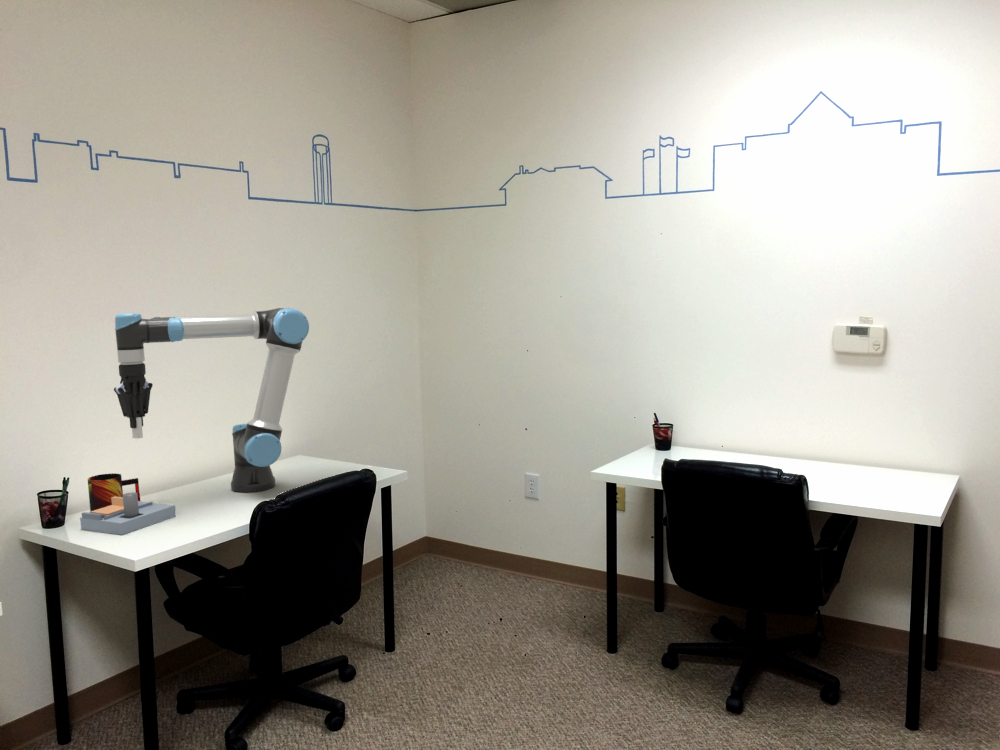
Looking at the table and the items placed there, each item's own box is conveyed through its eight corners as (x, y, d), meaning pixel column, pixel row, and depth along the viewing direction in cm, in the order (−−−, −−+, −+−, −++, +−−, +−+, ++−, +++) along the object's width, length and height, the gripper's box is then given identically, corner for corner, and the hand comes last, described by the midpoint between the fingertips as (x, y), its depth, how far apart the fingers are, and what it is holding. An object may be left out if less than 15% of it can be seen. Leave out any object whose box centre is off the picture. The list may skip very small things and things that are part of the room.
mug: (142, 507, 259) (139, 471, 258) (104, 519, 247) (101, 481, 246) (121, 505, 264) (118, 469, 262) (83, 516, 251) (80, 479, 250)
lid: (115, 506, 247) (114, 496, 247) (132, 508, 244) (131, 498, 244) (90, 514, 239) (89, 503, 239) (107, 516, 236) (106, 506, 236)
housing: (136, 511, 255) (134, 495, 255) (175, 516, 248) (174, 500, 248) (81, 529, 237) (79, 512, 237) (122, 535, 230) (120, 517, 230)
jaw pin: (133, 524, 241) (130, 492, 240) (143, 525, 239) (140, 493, 238) (122, 528, 237) (119, 495, 236) (132, 529, 236) (129, 496, 234)
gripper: (140, 360, 255) (145, 433, 257) (105, 365, 243) (111, 441, 245) (157, 361, 252) (163, 434, 254) (122, 365, 240) (129, 442, 242)
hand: (137, 437), depth 250 cm, fingers closed
